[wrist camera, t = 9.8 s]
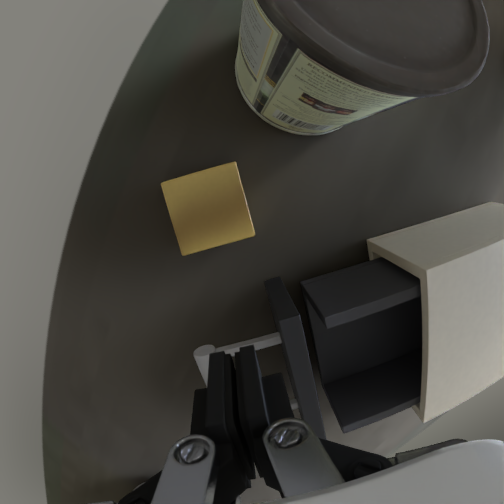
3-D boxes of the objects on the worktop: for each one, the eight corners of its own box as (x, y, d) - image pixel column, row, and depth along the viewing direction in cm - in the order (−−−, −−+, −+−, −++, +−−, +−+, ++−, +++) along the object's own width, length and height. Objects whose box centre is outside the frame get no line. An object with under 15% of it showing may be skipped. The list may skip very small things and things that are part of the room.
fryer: (380, 367, 27) (423, 423, 19) (365, 239, 24) (426, 270, 16) (491, 315, 28) (542, 348, 19) (490, 201, 25) (555, 215, 16)
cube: (172, 181, 22) (160, 183, 18) (233, 163, 22) (235, 161, 18) (190, 241, 23) (181, 256, 19) (250, 224, 23) (255, 236, 19)
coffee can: (346, 11, 20) (434, -84, 6) (380, 126, 22) (517, 98, 9) (220, 23, 20) (220, -108, 6) (250, 148, 22) (288, 107, 8)
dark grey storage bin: (231, 413, 26) (234, 470, 20) (187, 301, 23) (175, 347, 17) (428, 348, 26) (467, 385, 20) (423, 233, 24) (476, 252, 17)
